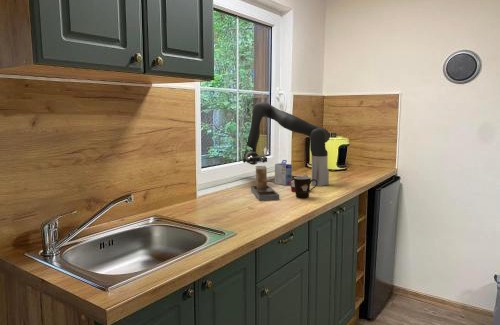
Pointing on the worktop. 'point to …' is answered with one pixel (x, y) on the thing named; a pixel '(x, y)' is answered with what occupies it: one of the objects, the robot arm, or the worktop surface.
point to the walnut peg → (261, 177)
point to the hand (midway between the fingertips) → (256, 161)
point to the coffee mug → (303, 186)
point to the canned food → (293, 186)
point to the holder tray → (265, 193)
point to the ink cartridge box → (283, 173)
